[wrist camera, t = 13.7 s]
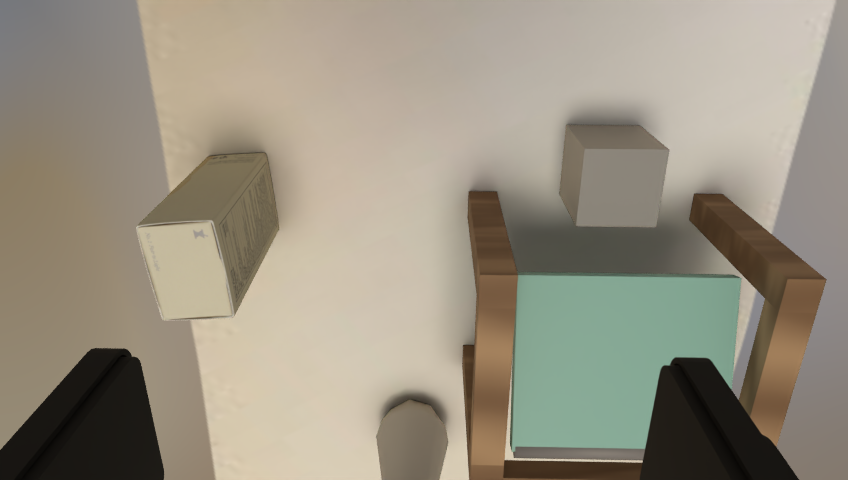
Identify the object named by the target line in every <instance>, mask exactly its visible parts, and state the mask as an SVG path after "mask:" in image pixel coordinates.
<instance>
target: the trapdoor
mask: <svg viewBox="0 0 848 480" xmlns="http://www.w3.org/2000/svg"><path fill="white" fill-rule="evenodd" d="M517 273H518V283H517V297H516V310H515V323H514V337H513V365H512V396H511V427H510V446H511V450H512V452H513V455H514V458H546V459H601V460H643V457H644V452H645V447H646V442H647V437H648V431H649V426H650V421H651V416H652V410H653V405H654V400H655V395H656V390H657V384H658V379H659V374H660V370H661V368H662V366H664V365H670V363H671V361H672V360H673V358H675V357H696V358H709V359H710V360H711V361H712V362H713V364H714V365H715V367H716V368H717V370H718V371H719V372H720V374H721V375H722V377H723V378H724V380H725V381H726V383H727V384H728V386H729V387H730V389H731V390H732V379H733V368H734V356H735V344H736V333H737V321H738V309H739V298H740V286H741V278H740V277H737V276H735V275H717V274H642V273H567V272H517Z"/></svg>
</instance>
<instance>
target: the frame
mask: <svg viewBox="0 0 848 480" xmlns="http://www.w3.org/2000/svg"><path fill="white" fill-rule="evenodd" d="M689 220H690V221H691V222H692V223H693V224H694V225H695V226H696V227H697V229H698V230H699V231H700V232H701V233H702V234H703V235H704V236H705V237H706V238H707V239H708V240H709V241H710V242H711V243H712V244H713V245H714V246H715V247H716V248H717V249H718V250H719V251H720V252H721V253H722V254H723V255H724V256H725V257H726V258H727V260H728V261H729V262H730V263H731V264H732V265H733V266H734V267H735V268H736V269H737V270H738V271H739V272H740V273H741V274H742V275H743V276H744V277H745V278H746V279H747V280H748V281H749V282H750V283H751V284H752V285H753V286H754V287H755V288H756V289H757V290H758V292H759V293H760V294H761V295H762V296H763V297H764V298H765V301H764V305H763V309H762V313H761V317H760V321H759V324H758V329H757V332H756V336H755V340H754V344H753V348H752V351H751V355H750V360H749V363H748V367H747V371H746V375H745V378H744V383H743V386H742V390H741V394H740V398H739V402H740V403H741V405H742V406H743V408H744V409H745V410H746V412H747V413H748V415H749V416H750V418H751V419H752V421H753V422H754V424H755V425H756V427H757V428H758V430H759V431H760V432H761V434H762V435H764V436H766V437H768V438H769V439H770V440H771V441H772V442H773V443H774V445H775V446H776V445H777V442H778V439H779V436H780V433H781V429H782V426H783V422H784V419H785V416H786V413H787V409H788V406H789V403H790V399H791V396H792V392H793V389H794V386H795V383H796V379H797V376H798V373H799V369H800V366H801V363H802V359H803V356H804V353H805V350H806V346H807V343H808V340H809V336H810V333H811V330H812V326H813V323H814V320H815V316H816V313H817V310H818V306H819V303H820V300H821V296H822V293H823V290H824V286H825V283H826V279H825V278H824V277H823V276H822V275H820V274H819V273H818V272H817V271H815V270H814V269H813V268H812V267H810V266H809V265H808V264H807V263H806V262H804V261H803V260H802V259H801V258H800V257H798V256H797V255H796V254H795V253H794V252H792V251H791V250H790V249H789V248H787V247H786V246H785V245H784V244H783V243H781V242H780V241H779V240H778V239H776V238H775V237H774V236H773V235H772V234H770V233H769V232H768V231H767V230H766V229H764V228H763V227H762V226H761V225H759V224H758V223H757V222H756V221H755V220H753V219H752V218H751V217H750V216H749V215H747V214H746V213H745V212H744V211H742V210H741V209H740V208H739V207H738V206H736V205H735V204H734V203H733V202H731V201H730V200H729V199H728V198H727V197H725V196H724V195H723V194H694V198H693V203H692V208H691V214H690V219H689ZM468 224H469V233H470V241H471V250H472V258H473V267H474V276H475V284H476V293H477V299H476V322H475V344H474V345H463V363H462V368H463V384H464V401H465V417H466V434H467V450H468V466H469V480H639V479H640V473H641V468H642V463H626V462H571V461H515V460H504V458H505V445H506V431H507V418H508V404H509V391H510V377H511V364H512V350H513V337H514V323H515V310H516V297H517V283H518V273H517V269H516V265H515V262H514V258H513V254H512V250H511V246H510V242H509V238H508V234H507V230H506V226H505V222H504V218H503V214H502V211H501V207H500V203H499V199H498V195H497V192H477V191H469V195H468Z"/></svg>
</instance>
